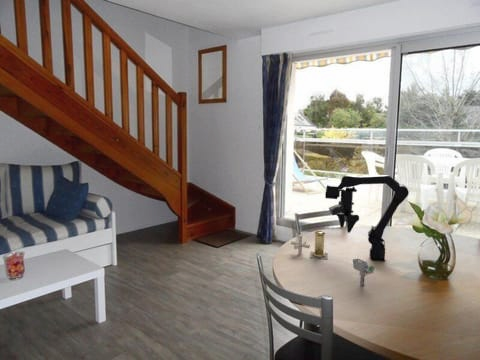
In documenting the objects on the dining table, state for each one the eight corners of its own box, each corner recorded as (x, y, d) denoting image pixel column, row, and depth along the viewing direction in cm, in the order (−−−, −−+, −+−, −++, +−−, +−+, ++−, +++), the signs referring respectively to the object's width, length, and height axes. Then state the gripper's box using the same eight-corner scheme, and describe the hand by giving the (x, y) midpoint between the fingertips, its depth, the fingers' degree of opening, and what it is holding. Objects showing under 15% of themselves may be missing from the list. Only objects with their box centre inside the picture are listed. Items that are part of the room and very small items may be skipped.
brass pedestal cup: (325, 253, 187) (326, 231, 186) (325, 257, 181) (326, 234, 179) (312, 252, 189) (313, 230, 187) (312, 256, 183) (313, 233, 181)
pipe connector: (304, 259, 180) (304, 239, 179) (286, 254, 186) (287, 235, 185) (313, 253, 188) (313, 234, 187) (296, 249, 194) (296, 231, 193)
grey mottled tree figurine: (368, 291, 146) (370, 267, 144) (350, 281, 155) (351, 258, 153) (374, 289, 147) (375, 265, 146) (355, 280, 156) (356, 257, 155)
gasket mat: (327, 253, 188) (327, 252, 188) (327, 259, 180) (327, 259, 180) (310, 252, 190) (310, 251, 190) (309, 258, 182) (309, 257, 182)
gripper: (324, 196, 191) (323, 225, 193) (337, 204, 173) (336, 235, 175) (345, 196, 192) (343, 224, 194) (360, 203, 174) (358, 235, 176)
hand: (345, 230), depth 185 cm, fingers open, 9 cm apart
